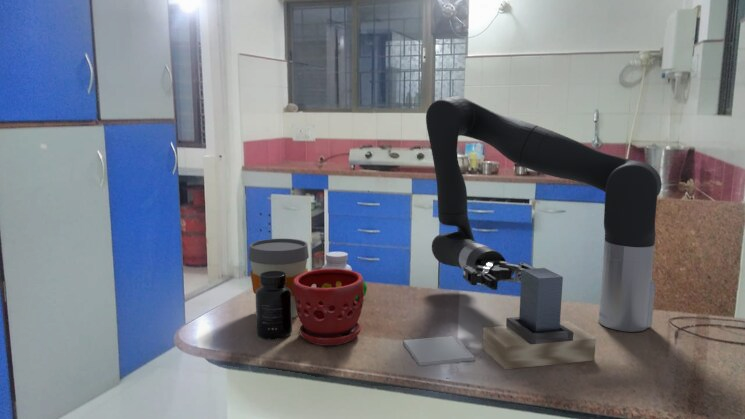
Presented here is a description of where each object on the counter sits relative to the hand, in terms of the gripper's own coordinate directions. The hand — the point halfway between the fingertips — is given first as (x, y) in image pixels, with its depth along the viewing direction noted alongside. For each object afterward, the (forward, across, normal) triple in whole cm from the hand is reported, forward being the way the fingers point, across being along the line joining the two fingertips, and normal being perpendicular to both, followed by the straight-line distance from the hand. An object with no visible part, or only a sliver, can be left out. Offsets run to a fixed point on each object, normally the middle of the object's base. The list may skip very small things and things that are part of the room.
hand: (516, 283), depth 110 cm
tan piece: (+9, 0, +10) cm, 14 cm away
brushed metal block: (+9, 0, +6) cm, 11 cm away
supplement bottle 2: (-21, -31, +11) cm, 39 cm away
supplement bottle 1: (-11, -45, +11) cm, 48 cm away
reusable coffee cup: (-23, -43, +11) cm, 50 cm away
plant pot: (-7, -35, +11) cm, 37 cm away
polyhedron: (-29, -25, +11) cm, 40 cm away
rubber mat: (+4, -17, +10) cm, 20 cm away
